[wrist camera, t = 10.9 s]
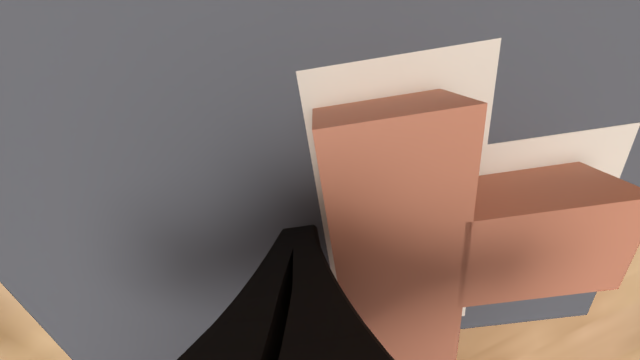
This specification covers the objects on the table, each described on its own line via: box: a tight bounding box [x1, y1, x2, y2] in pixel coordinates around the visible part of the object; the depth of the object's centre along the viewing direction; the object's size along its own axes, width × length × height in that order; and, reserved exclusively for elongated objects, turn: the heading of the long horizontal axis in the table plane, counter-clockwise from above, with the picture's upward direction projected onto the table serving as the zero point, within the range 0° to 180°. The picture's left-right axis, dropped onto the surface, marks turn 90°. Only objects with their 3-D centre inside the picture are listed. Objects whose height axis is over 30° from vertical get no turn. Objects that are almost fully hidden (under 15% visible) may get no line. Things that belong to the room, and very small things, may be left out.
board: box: [0, 0, 640, 360], centre depth 10 cm, size 18×26×1 cm
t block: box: [312, 89, 640, 360], centre depth 9 cm, size 10×9×2 cm
